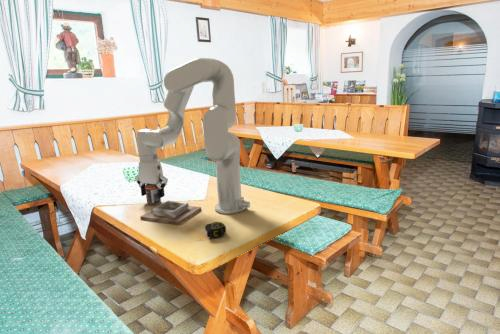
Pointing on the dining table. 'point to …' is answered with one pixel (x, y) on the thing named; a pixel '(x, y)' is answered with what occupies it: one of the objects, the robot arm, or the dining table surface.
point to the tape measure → (215, 229)
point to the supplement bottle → (152, 194)
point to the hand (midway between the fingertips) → (153, 195)
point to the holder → (171, 213)
